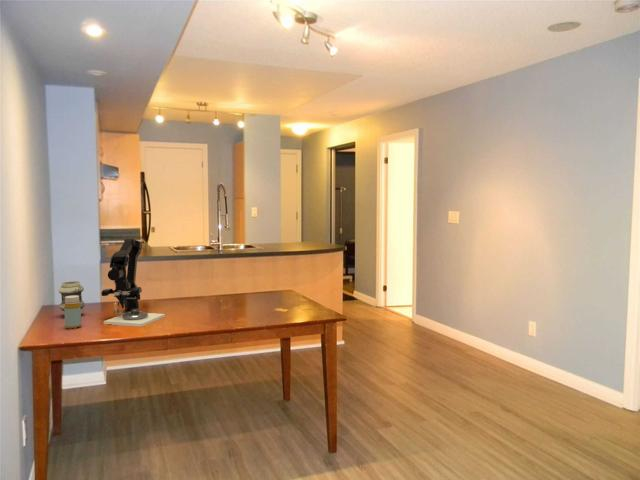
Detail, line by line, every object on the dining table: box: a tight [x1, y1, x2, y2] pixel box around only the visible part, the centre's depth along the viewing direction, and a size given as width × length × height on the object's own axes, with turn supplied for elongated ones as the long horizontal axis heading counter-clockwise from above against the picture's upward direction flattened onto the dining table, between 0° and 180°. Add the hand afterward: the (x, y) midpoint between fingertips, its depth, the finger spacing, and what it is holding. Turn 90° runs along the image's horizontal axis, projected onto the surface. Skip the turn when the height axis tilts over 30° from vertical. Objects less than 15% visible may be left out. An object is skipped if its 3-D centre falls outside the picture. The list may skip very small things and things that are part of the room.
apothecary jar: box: [58, 280, 86, 318], centre depth 262 cm, size 12×12×18 cm
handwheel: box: [113, 301, 149, 320], centre depth 253 cm, size 18×12×7 cm, turn 75°
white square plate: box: [103, 312, 166, 328], centre depth 253 cm, size 21×21×2 cm
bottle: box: [63, 295, 82, 329], centre depth 239 cm, size 7×7×15 cm
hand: (123, 307), depth 257 cm, fingers closed
